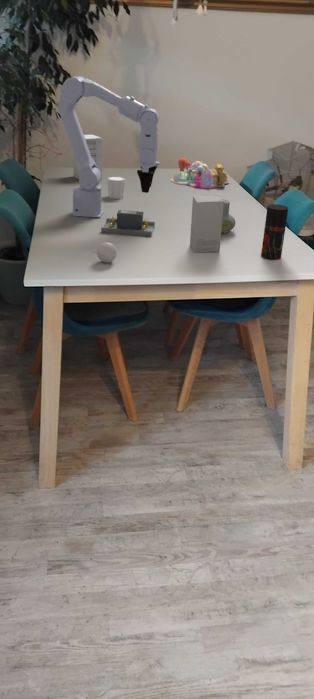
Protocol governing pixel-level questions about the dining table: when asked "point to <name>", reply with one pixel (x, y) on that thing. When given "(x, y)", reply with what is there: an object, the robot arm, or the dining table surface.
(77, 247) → the dining table surface
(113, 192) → the white tapered cup
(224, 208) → the air freshener
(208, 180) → the candy landscape model
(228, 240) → the dining table surface
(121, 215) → the block
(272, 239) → the deodorant
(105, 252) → the white sphere
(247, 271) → the dining table surface
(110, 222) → the tray
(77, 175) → the supplement box
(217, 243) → the skincare box
